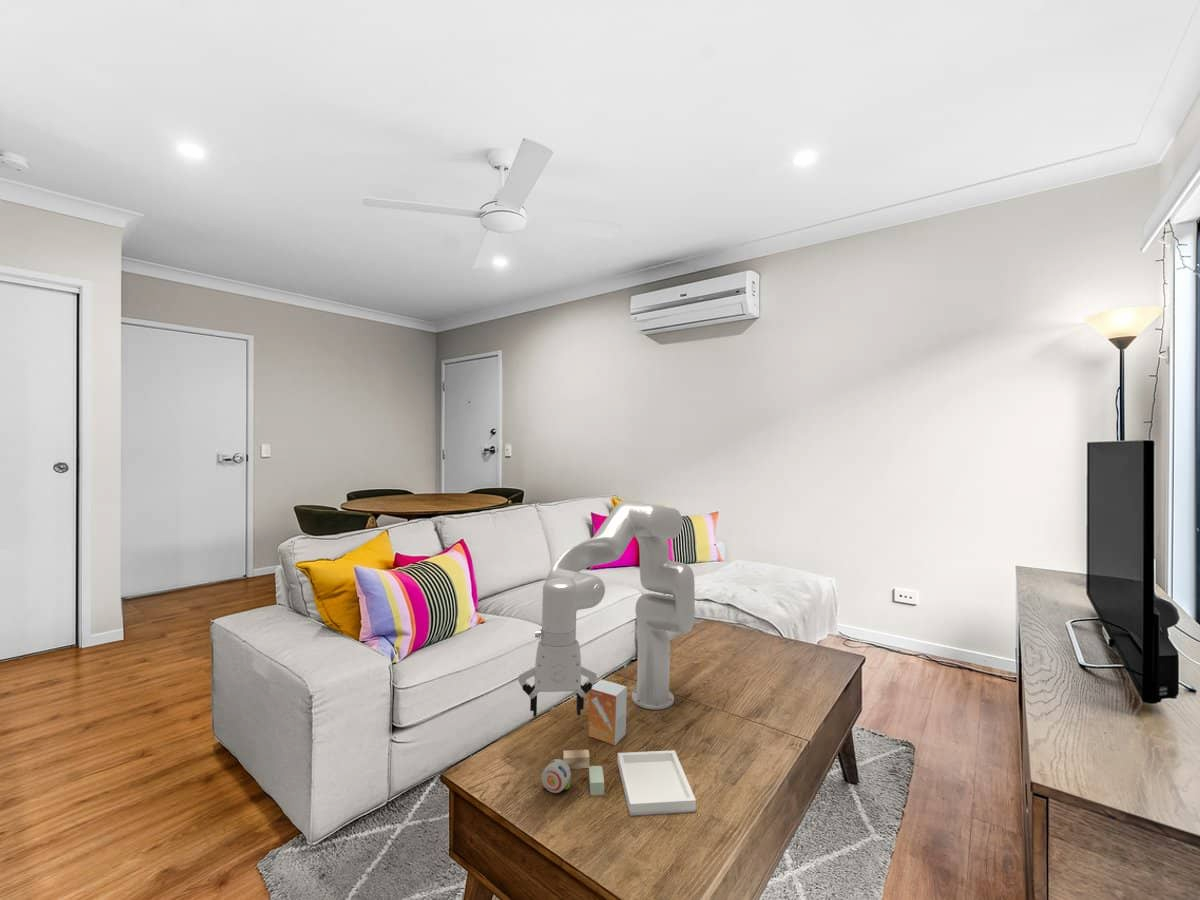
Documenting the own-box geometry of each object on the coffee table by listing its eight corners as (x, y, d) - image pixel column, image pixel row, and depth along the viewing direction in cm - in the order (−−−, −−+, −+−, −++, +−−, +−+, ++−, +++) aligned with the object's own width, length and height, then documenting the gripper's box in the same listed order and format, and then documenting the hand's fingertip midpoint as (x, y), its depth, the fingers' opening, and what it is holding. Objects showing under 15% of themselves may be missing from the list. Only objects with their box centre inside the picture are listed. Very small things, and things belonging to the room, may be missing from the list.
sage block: (588, 778, 125) (589, 766, 124) (601, 778, 125) (602, 765, 125) (590, 796, 119) (590, 782, 118) (604, 795, 119) (604, 782, 119)
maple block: (563, 770, 127) (564, 758, 127) (563, 762, 130) (563, 750, 130) (589, 769, 128) (589, 756, 128) (588, 761, 131) (588, 749, 131)
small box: (587, 737, 141) (588, 687, 141) (599, 725, 147) (600, 678, 146) (615, 746, 137) (616, 695, 137) (626, 734, 143) (627, 685, 142)
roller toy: (564, 798, 117) (564, 772, 117) (538, 791, 120) (538, 765, 119) (572, 786, 121) (572, 761, 121) (547, 779, 124) (547, 754, 124)
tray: (617, 763, 130) (617, 752, 130) (674, 760, 132) (674, 750, 132) (630, 815, 112) (630, 804, 112) (695, 811, 114) (696, 800, 114)
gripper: (518, 643, 115) (516, 723, 115) (599, 642, 117) (597, 720, 117) (519, 630, 122) (517, 705, 123) (595, 629, 124) (593, 703, 125)
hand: (556, 713), depth 120 cm, fingers open, 9 cm apart
